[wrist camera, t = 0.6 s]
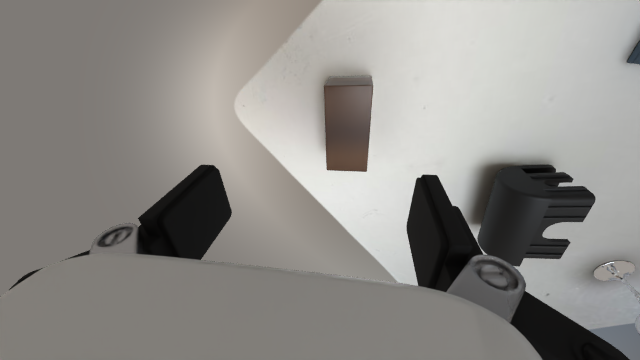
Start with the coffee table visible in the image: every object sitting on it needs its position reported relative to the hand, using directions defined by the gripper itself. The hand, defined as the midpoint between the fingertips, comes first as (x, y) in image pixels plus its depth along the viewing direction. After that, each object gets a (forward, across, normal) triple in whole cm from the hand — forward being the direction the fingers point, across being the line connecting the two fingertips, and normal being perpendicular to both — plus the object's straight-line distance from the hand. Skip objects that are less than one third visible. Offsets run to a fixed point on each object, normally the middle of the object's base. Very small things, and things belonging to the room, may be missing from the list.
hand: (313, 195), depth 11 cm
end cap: (+19, -21, +12) cm, 30 cm away
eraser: (+18, -1, +2) cm, 18 cm away
